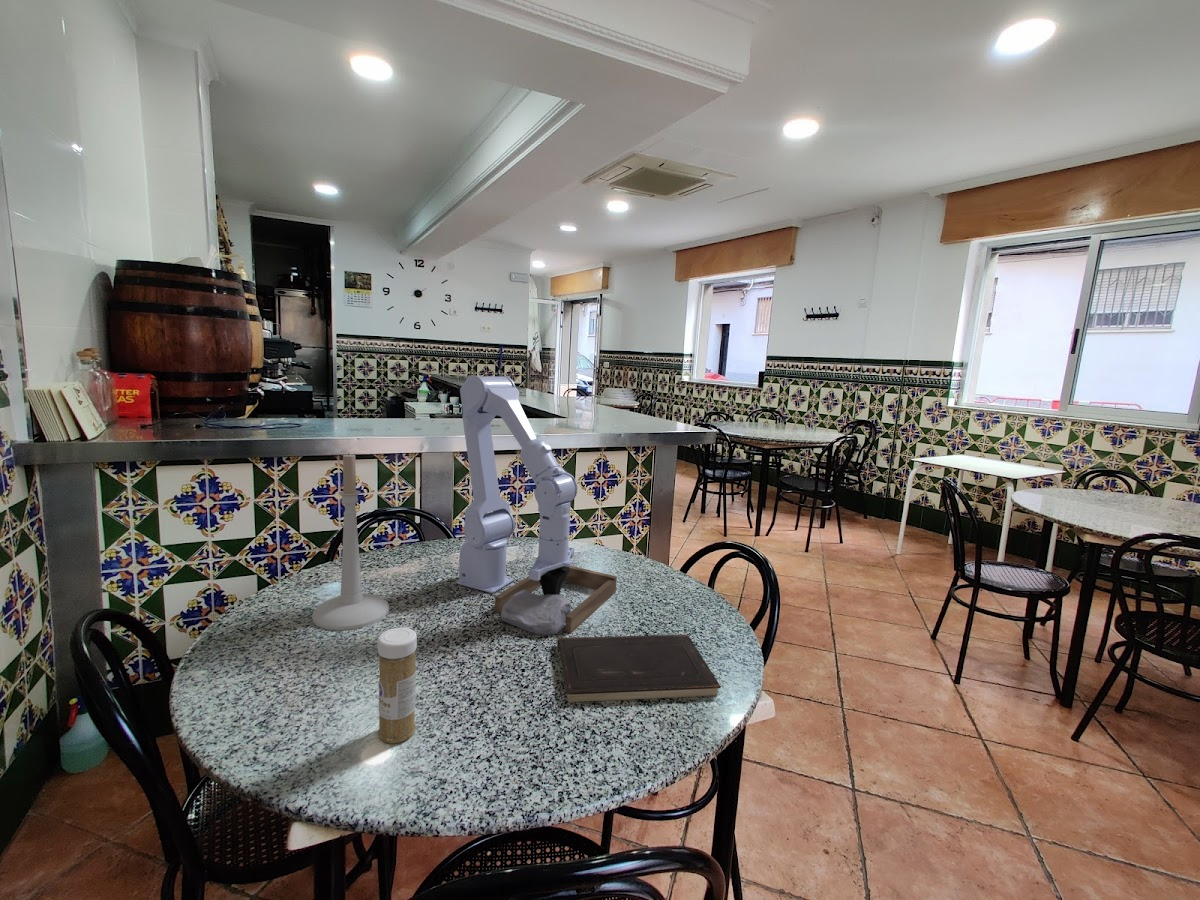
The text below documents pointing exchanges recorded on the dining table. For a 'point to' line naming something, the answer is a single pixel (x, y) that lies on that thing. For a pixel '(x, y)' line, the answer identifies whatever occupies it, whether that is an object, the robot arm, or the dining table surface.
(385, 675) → the sprinkles bottle
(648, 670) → the hardcover book
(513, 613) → the stone block
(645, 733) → the dining table surface
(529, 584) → the shelf lane
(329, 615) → the candlestick
